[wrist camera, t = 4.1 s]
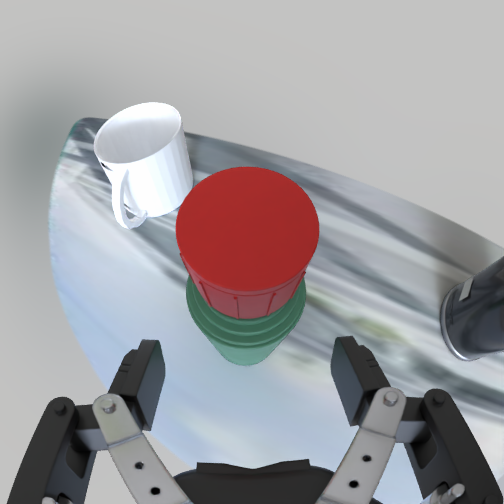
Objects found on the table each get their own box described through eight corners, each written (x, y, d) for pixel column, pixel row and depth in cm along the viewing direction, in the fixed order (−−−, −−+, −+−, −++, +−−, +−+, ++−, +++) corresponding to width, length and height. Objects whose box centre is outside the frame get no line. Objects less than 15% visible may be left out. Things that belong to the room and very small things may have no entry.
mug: (145, 153, 35) (127, 99, 27) (206, 168, 34) (197, 108, 26) (96, 227, 30) (59, 178, 22) (159, 252, 29) (130, 201, 21)
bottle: (284, 320, 27) (359, 194, 9) (261, 375, 25) (304, 360, 7) (230, 297, 28) (208, 141, 10) (204, 350, 25) (118, 274, 8)
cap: (313, 243, 11) (335, 193, 8) (275, 336, 10) (290, 316, 7) (222, 207, 12) (216, 152, 9) (174, 291, 10) (149, 253, 7)
